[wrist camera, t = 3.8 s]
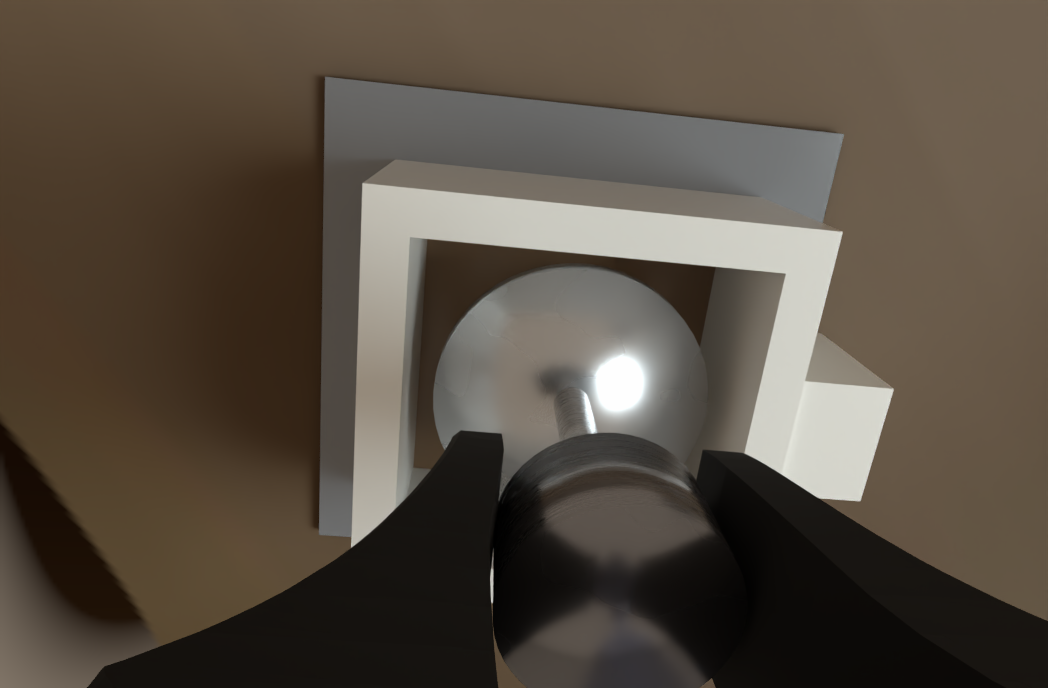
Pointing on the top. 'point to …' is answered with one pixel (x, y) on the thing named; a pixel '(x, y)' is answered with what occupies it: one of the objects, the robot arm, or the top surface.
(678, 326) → the plunger
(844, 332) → the top surface
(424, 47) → the top surface
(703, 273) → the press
